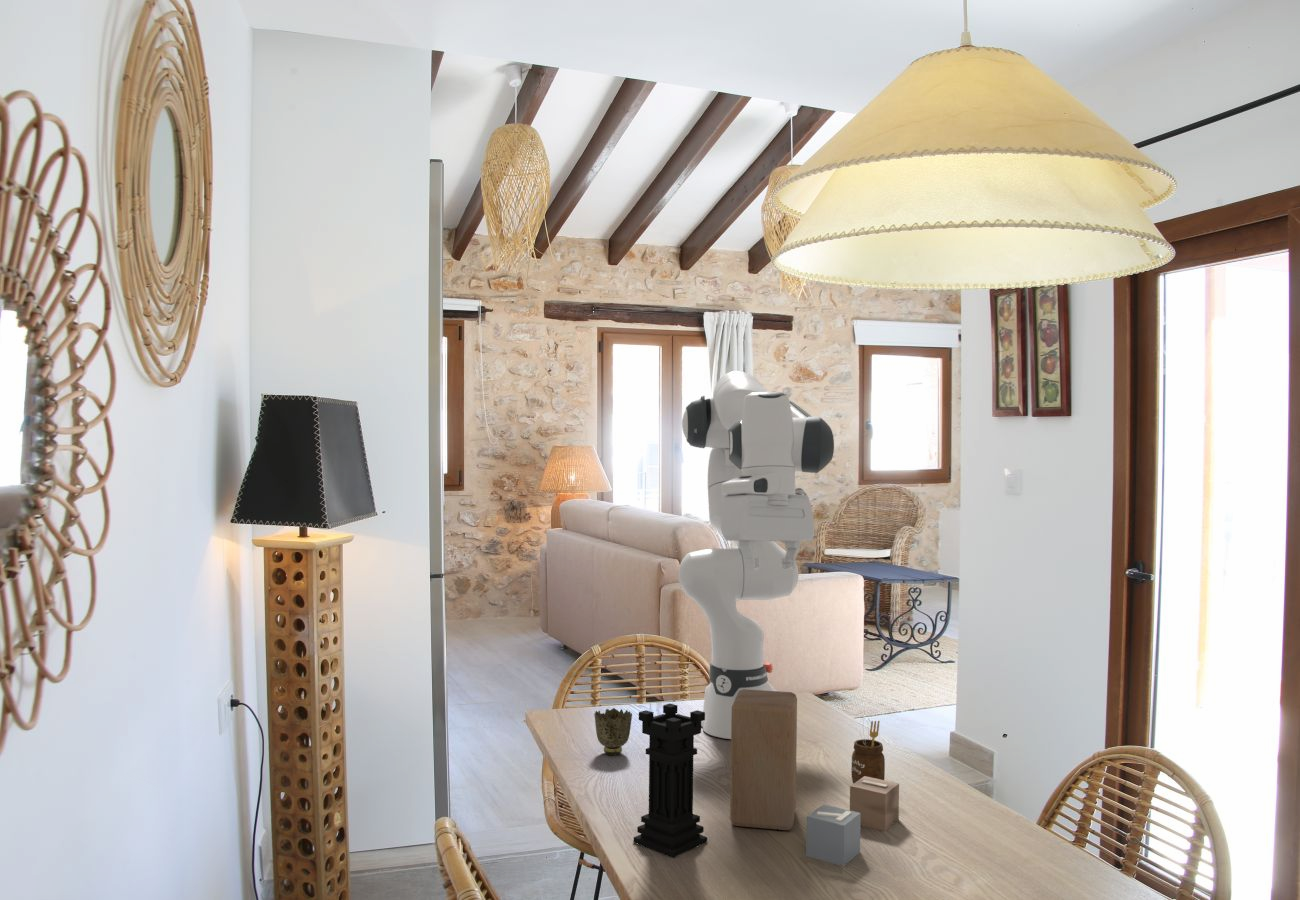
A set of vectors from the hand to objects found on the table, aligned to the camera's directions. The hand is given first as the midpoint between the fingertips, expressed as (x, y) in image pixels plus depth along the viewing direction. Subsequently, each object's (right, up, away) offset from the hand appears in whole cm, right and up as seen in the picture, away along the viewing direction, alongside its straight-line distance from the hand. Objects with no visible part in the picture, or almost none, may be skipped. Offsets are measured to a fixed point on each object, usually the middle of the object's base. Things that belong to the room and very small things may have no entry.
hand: (770, 569), depth 161 cm
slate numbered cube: (+7, -41, -16) cm, 44 cm away
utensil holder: (+20, -41, +16) cm, 48 cm away
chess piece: (-17, -41, -12) cm, 46 cm away
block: (-2, -41, -2) cm, 41 cm away
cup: (-27, -40, +31) cm, 57 cm away
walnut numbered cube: (+17, -41, -3) cm, 44 cm away
